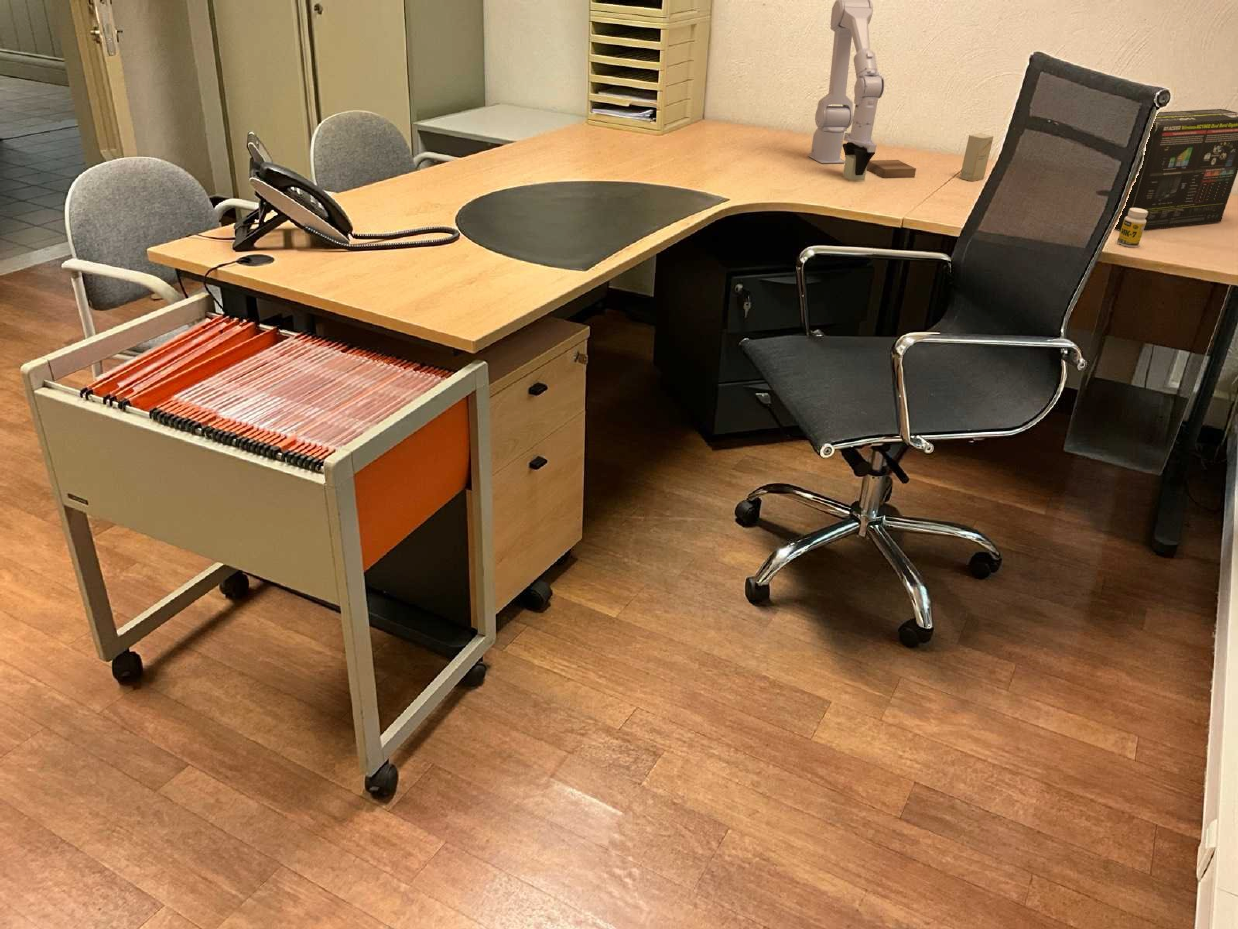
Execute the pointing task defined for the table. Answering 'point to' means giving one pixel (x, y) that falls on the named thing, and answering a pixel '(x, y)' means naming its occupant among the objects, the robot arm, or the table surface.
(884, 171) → the walnut block
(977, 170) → the skincare box
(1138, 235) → the supplement bottle
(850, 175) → the sage block
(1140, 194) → the router box
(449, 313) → the table surface
